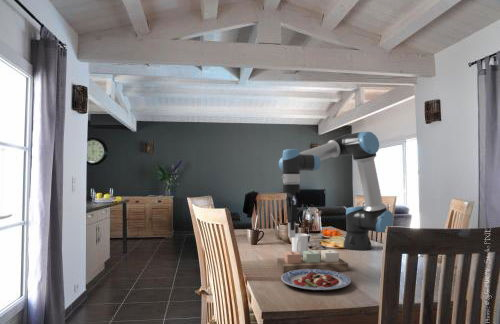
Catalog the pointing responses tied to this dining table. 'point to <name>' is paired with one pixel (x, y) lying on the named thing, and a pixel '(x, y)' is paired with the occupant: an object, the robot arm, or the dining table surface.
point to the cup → (300, 243)
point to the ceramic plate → (316, 279)
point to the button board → (312, 265)
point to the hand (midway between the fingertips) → (291, 237)
